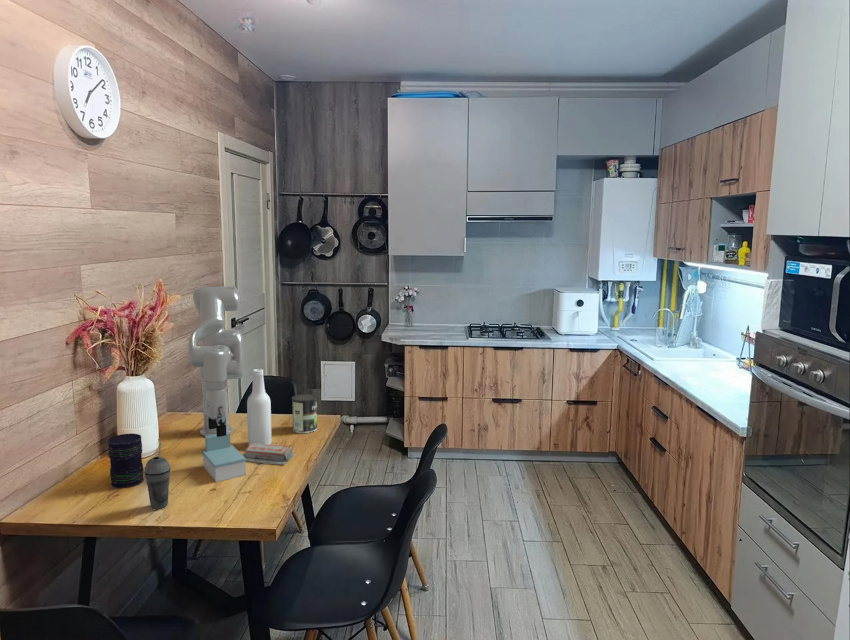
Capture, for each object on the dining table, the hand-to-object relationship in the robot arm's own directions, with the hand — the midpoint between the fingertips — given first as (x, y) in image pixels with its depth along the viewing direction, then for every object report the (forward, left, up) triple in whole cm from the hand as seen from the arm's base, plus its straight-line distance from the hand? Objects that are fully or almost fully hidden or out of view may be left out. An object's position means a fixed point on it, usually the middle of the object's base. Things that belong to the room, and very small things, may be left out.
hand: (217, 432), depth 204 cm
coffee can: (-18, +41, -13) cm, 47 cm away
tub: (+6, 0, -12) cm, 14 cm away
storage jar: (-2, -29, -13) cm, 32 cm away
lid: (+6, 0, -7) cm, 9 cm away
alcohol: (-11, +19, -12) cm, 25 cm away
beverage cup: (+22, -24, -12) cm, 35 cm away
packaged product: (+3, +17, -13) cm, 21 cm away
